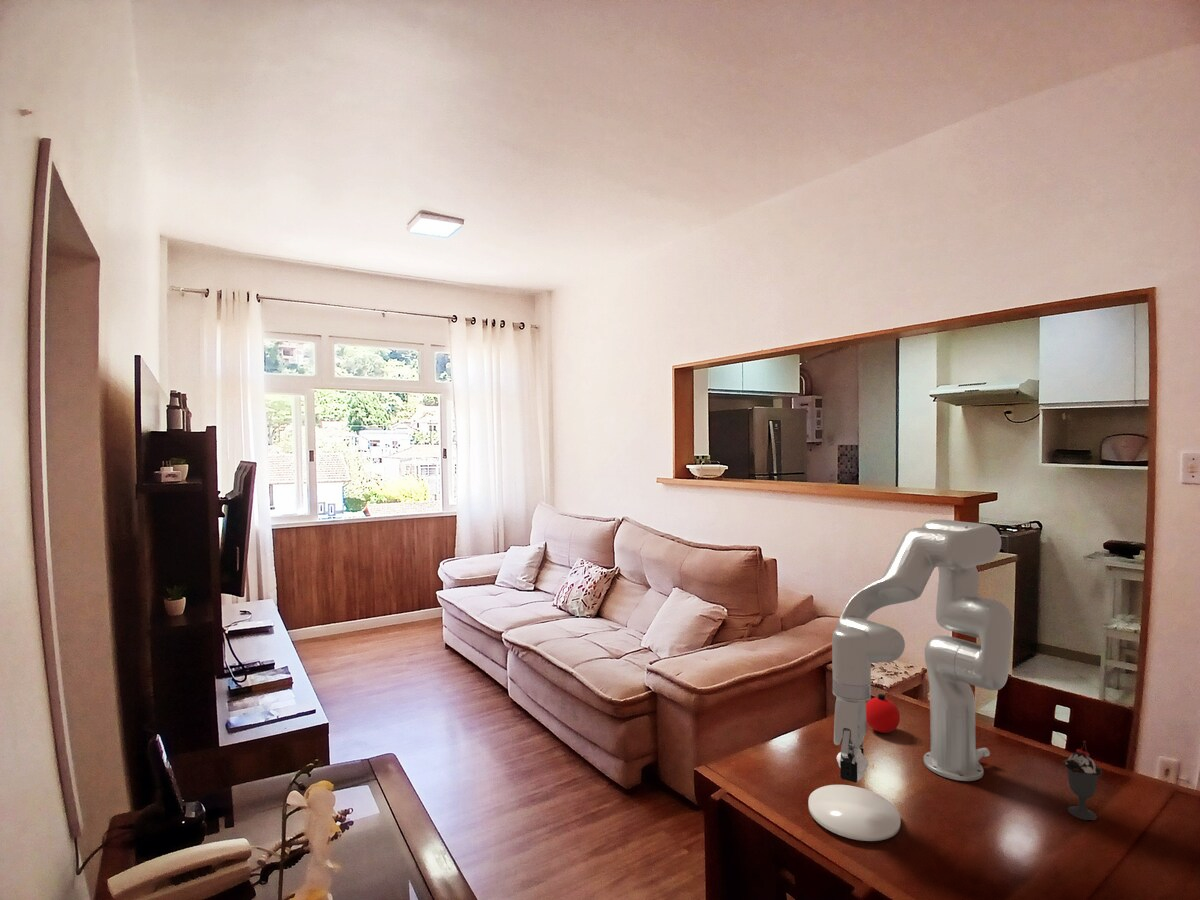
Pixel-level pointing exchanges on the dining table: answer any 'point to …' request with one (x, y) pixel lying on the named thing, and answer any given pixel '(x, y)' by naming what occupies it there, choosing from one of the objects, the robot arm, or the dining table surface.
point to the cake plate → (854, 812)
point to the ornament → (882, 714)
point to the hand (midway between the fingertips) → (852, 771)
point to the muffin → (860, 760)
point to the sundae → (1082, 781)
